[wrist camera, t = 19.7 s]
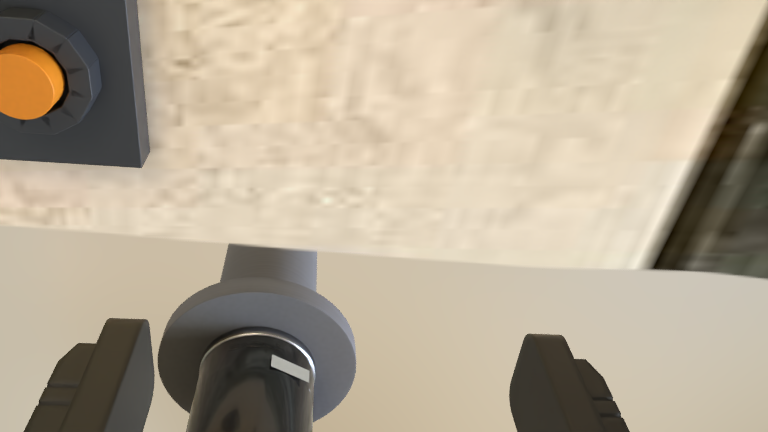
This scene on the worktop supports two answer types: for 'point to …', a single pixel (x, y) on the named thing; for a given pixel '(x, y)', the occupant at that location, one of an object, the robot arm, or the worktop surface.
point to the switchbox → (81, 83)
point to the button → (28, 81)
